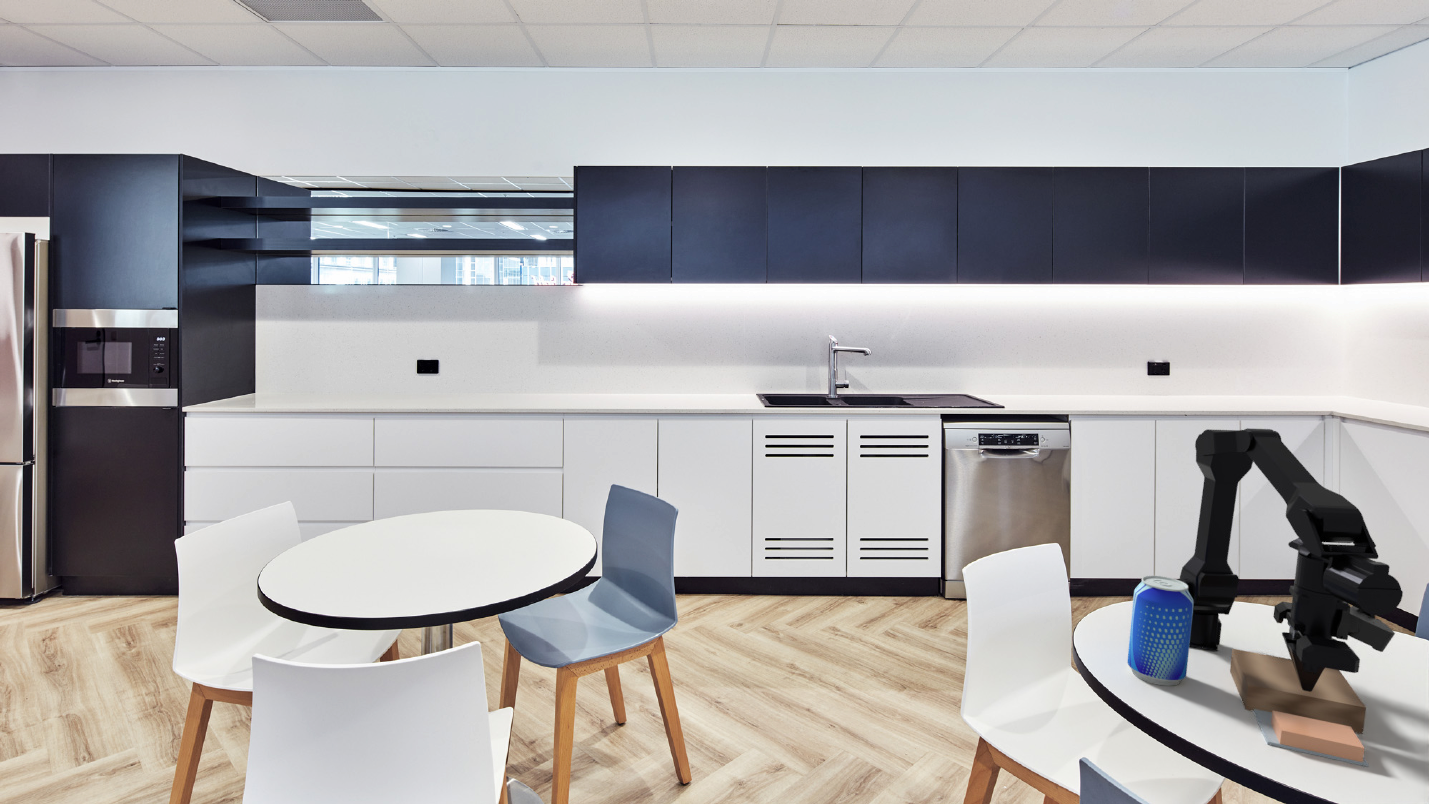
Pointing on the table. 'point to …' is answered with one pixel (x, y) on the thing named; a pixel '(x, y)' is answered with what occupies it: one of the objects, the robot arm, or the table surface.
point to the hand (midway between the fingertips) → (1306, 690)
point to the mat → (1272, 739)
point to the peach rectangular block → (1317, 736)
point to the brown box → (1295, 690)
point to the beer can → (1160, 630)
